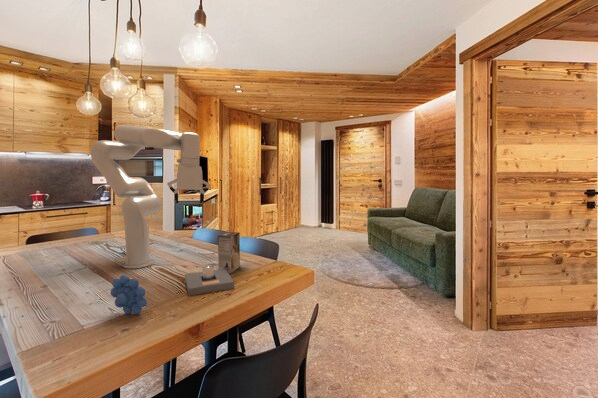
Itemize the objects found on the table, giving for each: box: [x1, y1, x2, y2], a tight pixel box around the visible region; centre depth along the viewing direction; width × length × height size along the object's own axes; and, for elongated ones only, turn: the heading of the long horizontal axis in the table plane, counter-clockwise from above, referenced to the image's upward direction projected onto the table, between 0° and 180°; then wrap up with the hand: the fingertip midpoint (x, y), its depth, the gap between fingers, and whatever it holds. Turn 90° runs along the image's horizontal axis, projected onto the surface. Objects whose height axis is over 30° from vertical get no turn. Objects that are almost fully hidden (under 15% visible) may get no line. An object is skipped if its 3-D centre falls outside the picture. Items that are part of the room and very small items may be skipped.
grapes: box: [110, 274, 148, 315], centre depth 86 cm, size 12×7×12 cm, turn 81°
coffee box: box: [217, 231, 241, 274], centre depth 128 cm, size 9×6×16 cm
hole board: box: [184, 269, 235, 296], centre depth 112 cm, size 16×16×3 cm
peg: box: [202, 264, 215, 281], centre depth 111 cm, size 4×4×7 cm
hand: (189, 202), depth 124 cm, fingers open, 9 cm apart
